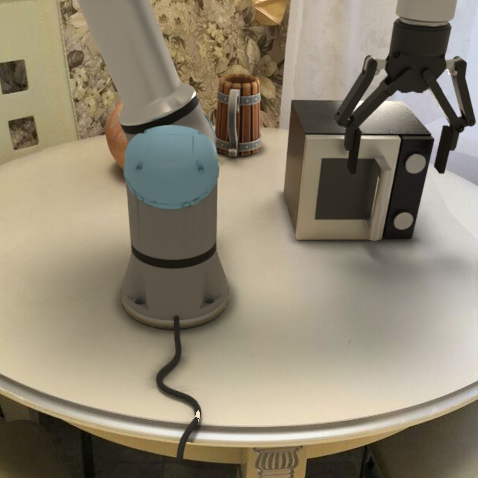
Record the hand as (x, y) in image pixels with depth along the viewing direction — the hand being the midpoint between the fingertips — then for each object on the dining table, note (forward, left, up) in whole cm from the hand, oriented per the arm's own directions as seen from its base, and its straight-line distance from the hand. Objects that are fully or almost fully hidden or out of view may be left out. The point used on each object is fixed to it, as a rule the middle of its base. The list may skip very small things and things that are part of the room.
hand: (395, 170), depth 94 cm
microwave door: (+2, +6, -14) cm, 15 cm away
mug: (+41, +21, -14) cm, 49 cm away
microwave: (+12, +3, -14) cm, 19 cm away
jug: (+32, +38, -14) cm, 52 cm away
